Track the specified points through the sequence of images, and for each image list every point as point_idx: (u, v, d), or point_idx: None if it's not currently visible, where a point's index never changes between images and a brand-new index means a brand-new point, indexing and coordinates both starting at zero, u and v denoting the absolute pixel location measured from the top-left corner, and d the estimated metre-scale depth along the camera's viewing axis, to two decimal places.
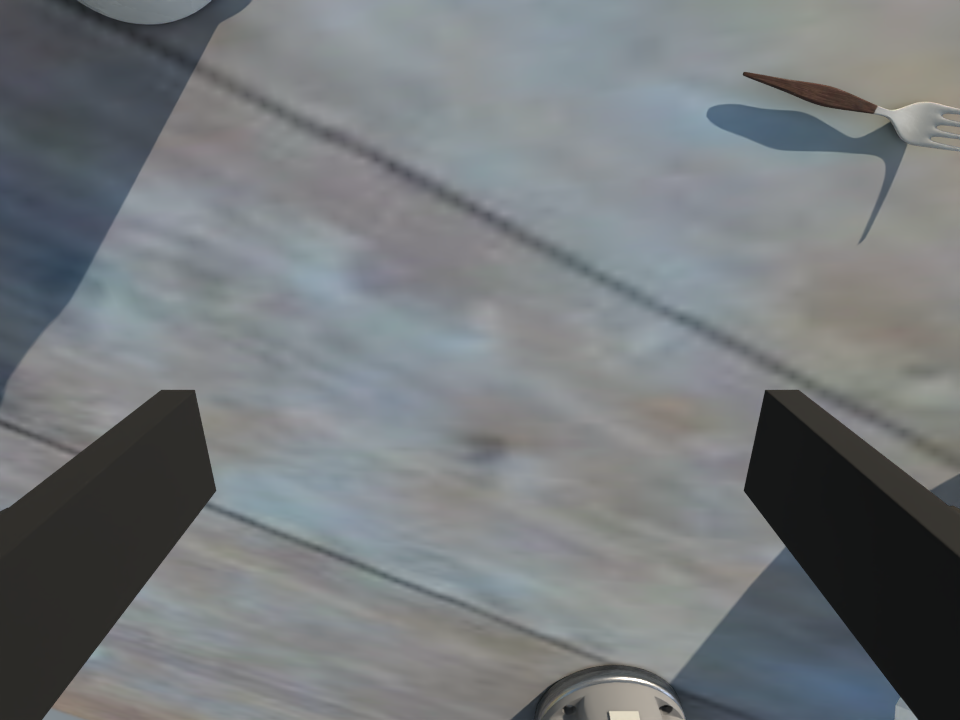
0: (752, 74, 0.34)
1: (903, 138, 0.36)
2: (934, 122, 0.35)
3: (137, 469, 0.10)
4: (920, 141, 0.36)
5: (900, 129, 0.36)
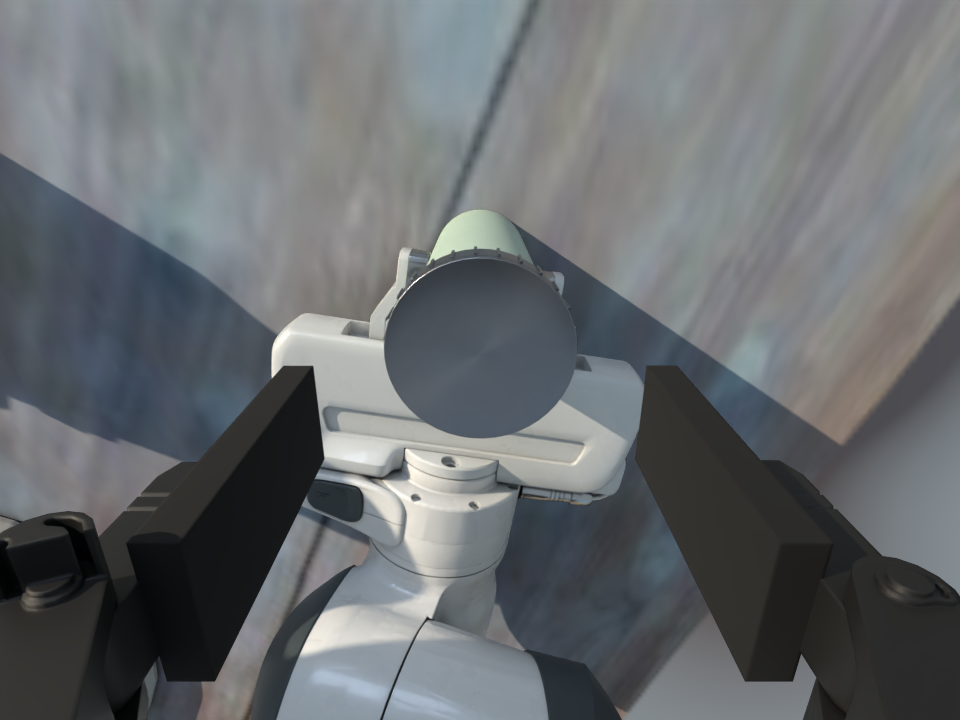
0: None
1: None
2: None
3: (284, 431, 0.12)
4: None
5: None
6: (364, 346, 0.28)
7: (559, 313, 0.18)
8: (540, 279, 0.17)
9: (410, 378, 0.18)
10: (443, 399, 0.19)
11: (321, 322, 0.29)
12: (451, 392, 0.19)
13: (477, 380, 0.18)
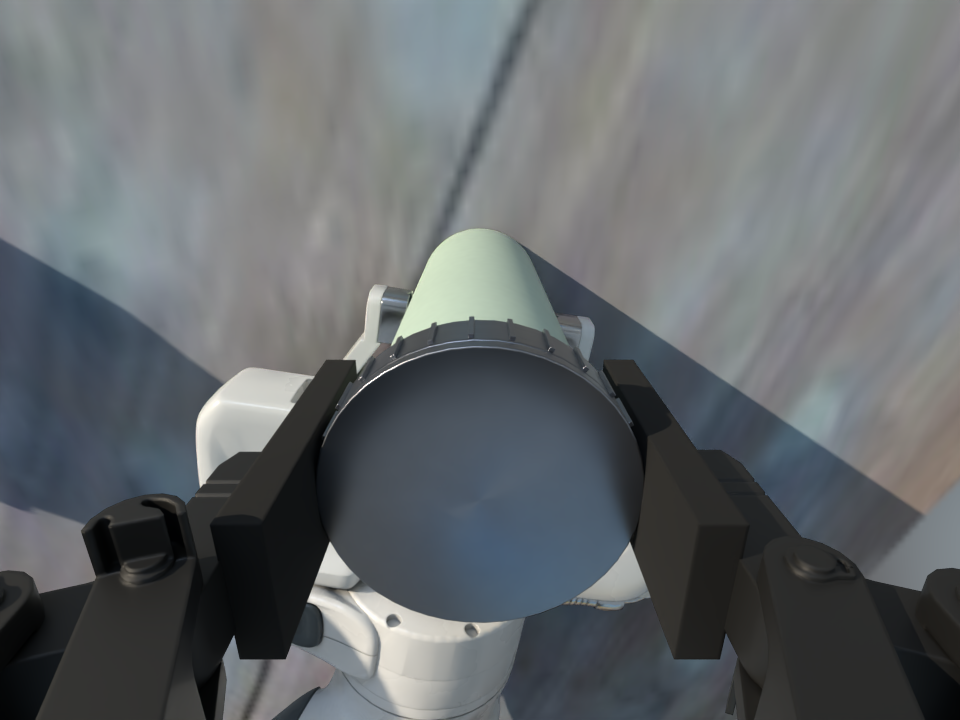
0: None
1: None
2: None
3: None
4: None
5: None
6: None
7: (616, 437, 0.10)
8: (584, 382, 0.10)
9: (362, 537, 0.11)
10: (418, 567, 0.11)
11: (267, 383, 0.22)
12: (431, 557, 0.11)
13: (474, 539, 0.11)
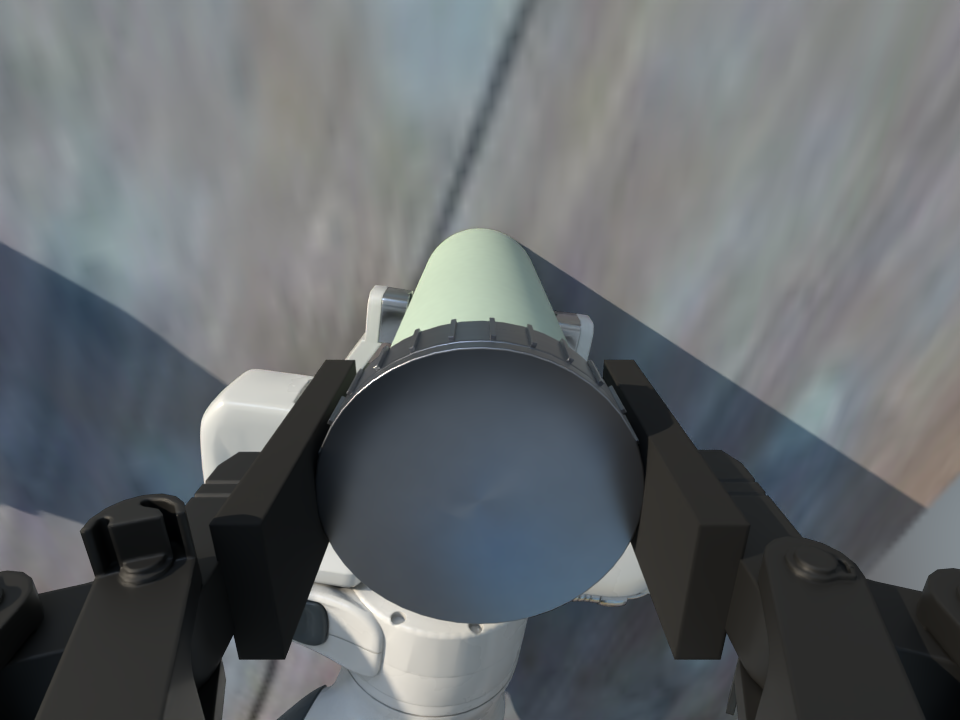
0: None
1: None
2: None
3: None
4: None
5: None
6: None
7: (331, 476, 0.10)
8: (327, 530, 0.11)
9: (597, 538, 0.11)
10: (586, 482, 0.10)
11: (269, 384, 0.22)
12: (566, 483, 0.10)
13: (516, 472, 0.10)
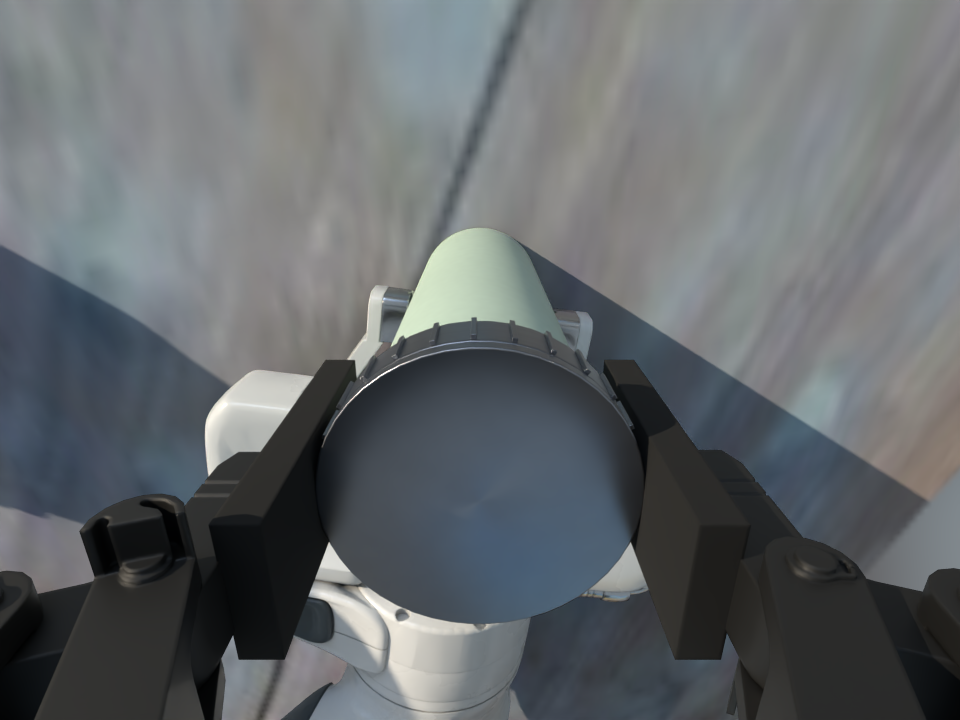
0: None
1: None
2: None
3: None
4: None
5: None
6: None
7: (564, 592, 0.11)
8: (615, 560, 0.11)
9: (411, 400, 0.10)
10: (382, 457, 0.10)
11: (272, 384, 0.22)
12: (398, 468, 0.10)
13: (430, 503, 0.11)
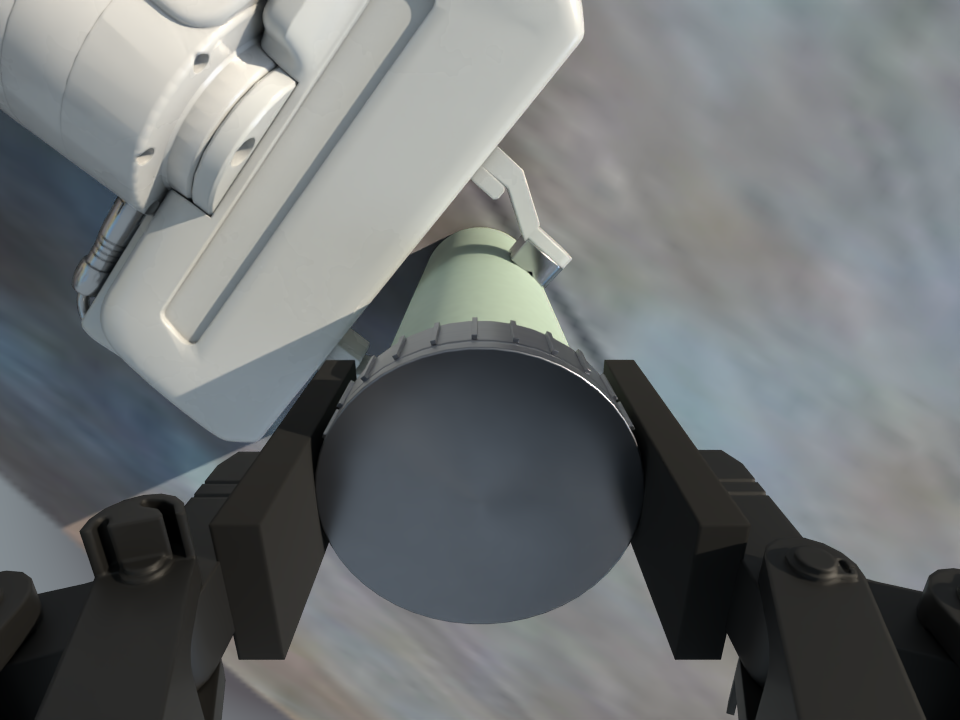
0: None
1: None
2: None
3: None
4: None
5: None
6: (492, 137, 0.17)
7: (564, 592, 0.11)
8: (614, 560, 0.11)
9: (411, 399, 0.10)
10: (382, 457, 0.10)
11: None
12: (399, 468, 0.10)
13: (430, 503, 0.11)
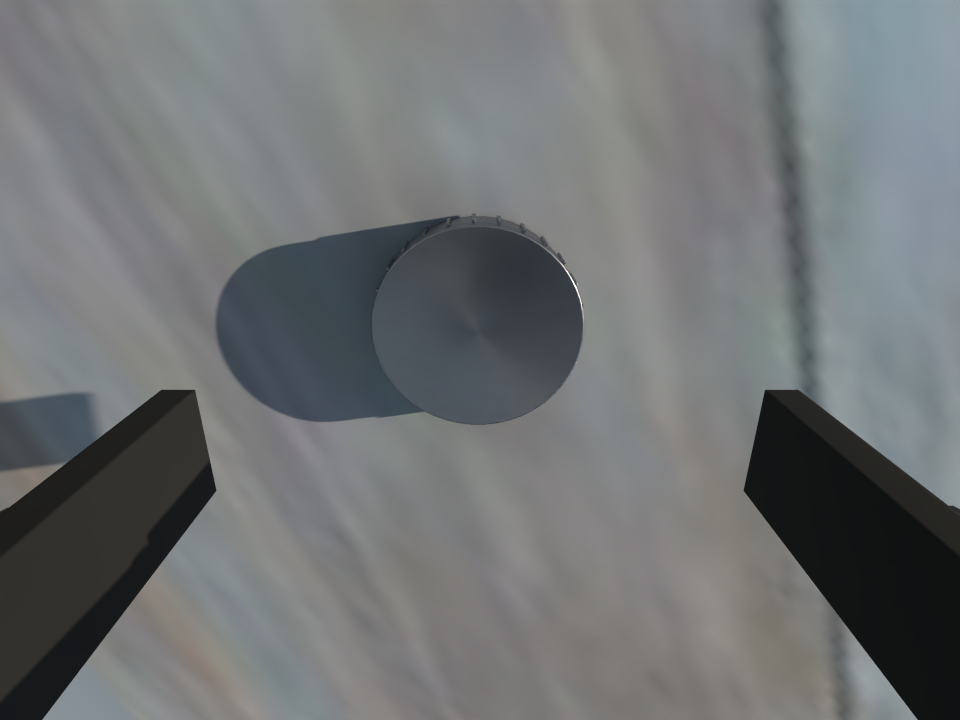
0: None
1: None
2: None
3: (138, 468, 0.10)
4: None
5: None
6: None
7: (534, 399, 0.17)
8: (566, 375, 0.17)
9: (434, 261, 0.16)
10: (415, 301, 0.16)
11: None
12: (425, 309, 0.16)
13: (446, 334, 0.17)
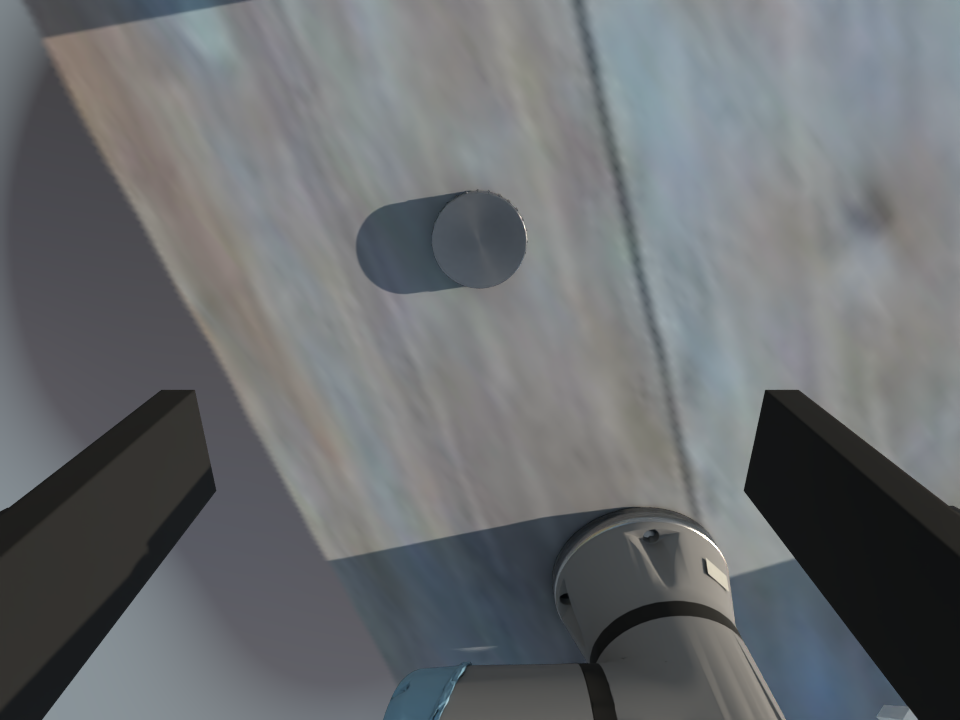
0: None
1: None
2: None
3: (138, 469, 0.10)
4: None
5: None
6: None
7: (505, 275, 0.38)
8: (519, 263, 0.37)
9: (460, 208, 0.36)
10: (451, 227, 0.37)
11: None
12: (456, 230, 0.37)
13: (465, 242, 0.37)
